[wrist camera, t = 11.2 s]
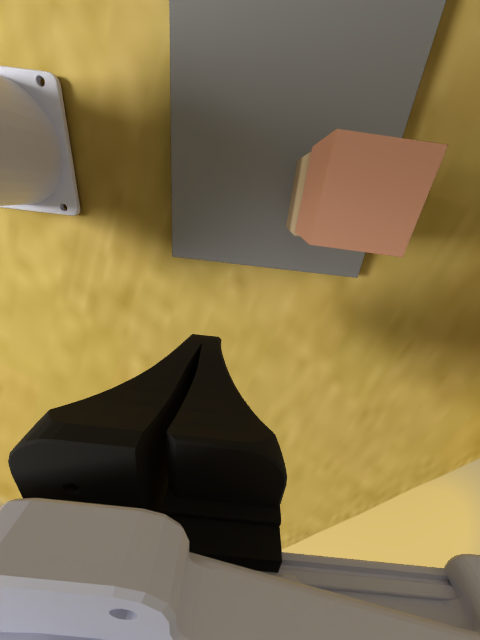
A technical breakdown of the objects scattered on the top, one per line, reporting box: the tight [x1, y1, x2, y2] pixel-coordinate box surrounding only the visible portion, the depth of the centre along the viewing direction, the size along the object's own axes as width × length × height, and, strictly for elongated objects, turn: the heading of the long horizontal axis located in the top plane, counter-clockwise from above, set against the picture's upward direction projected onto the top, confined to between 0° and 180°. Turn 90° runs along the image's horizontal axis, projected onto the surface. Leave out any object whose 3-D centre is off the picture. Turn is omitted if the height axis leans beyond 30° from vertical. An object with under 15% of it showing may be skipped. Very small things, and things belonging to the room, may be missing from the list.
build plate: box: [169, 0, 446, 278], centre depth 16 cm, size 14×20×1 cm
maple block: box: [286, 152, 311, 236], centre depth 15 cm, size 4×4×4 cm
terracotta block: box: [295, 129, 448, 257], centre depth 12 cm, size 4×4×4 cm
